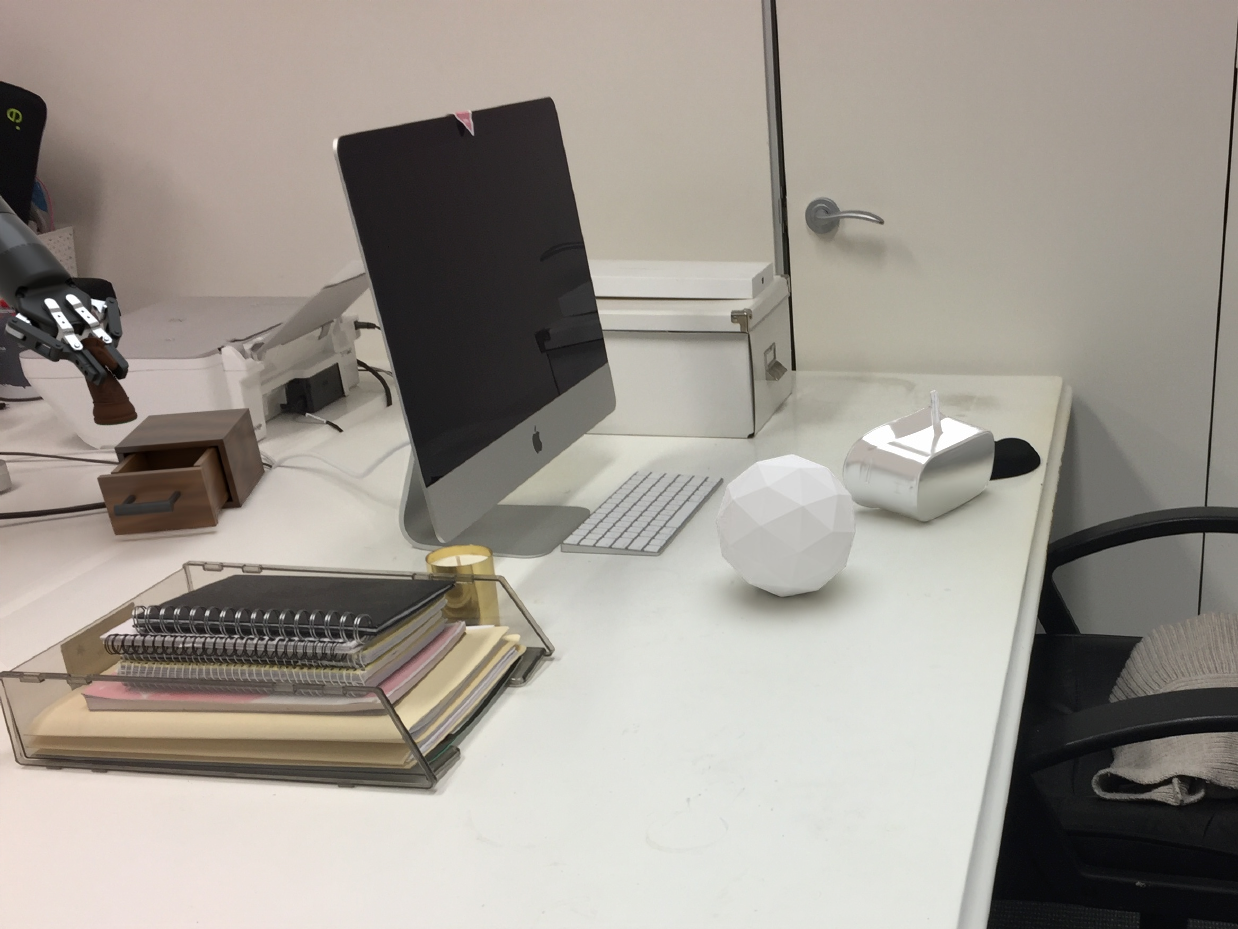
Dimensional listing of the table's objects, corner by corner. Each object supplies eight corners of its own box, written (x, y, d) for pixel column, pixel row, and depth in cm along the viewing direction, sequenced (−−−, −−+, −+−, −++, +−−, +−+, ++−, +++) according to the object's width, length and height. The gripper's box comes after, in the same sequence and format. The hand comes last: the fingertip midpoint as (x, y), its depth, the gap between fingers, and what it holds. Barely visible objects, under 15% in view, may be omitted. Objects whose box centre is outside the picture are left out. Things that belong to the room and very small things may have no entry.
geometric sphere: (821, 619, 138) (899, 510, 134) (772, 629, 124) (858, 507, 120) (725, 541, 140) (799, 432, 137) (666, 543, 126) (748, 421, 122)
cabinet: (241, 507, 160) (222, 438, 156) (135, 516, 158) (114, 447, 154) (265, 471, 173) (248, 407, 169) (167, 480, 171) (148, 415, 166)
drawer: (205, 542, 147) (188, 483, 143) (100, 552, 145) (81, 492, 141) (241, 490, 163) (227, 436, 160) (147, 498, 161) (131, 444, 158)
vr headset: (927, 473, 166) (927, 365, 159) (1000, 489, 159) (1003, 378, 153) (842, 512, 153) (838, 397, 146) (917, 532, 147) (916, 412, 140)
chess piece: (118, 426, 147) (94, 341, 142) (82, 424, 148) (57, 340, 144) (146, 416, 151) (124, 333, 146) (111, 414, 152) (87, 331, 148)
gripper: (-39, 250, 138) (63, 371, 138) (80, 233, 149) (175, 344, 149) (-50, 296, 143) (49, 412, 143) (67, 275, 153) (158, 383, 154)
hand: (113, 377), depth 146 cm, fingers closed on chess piece
